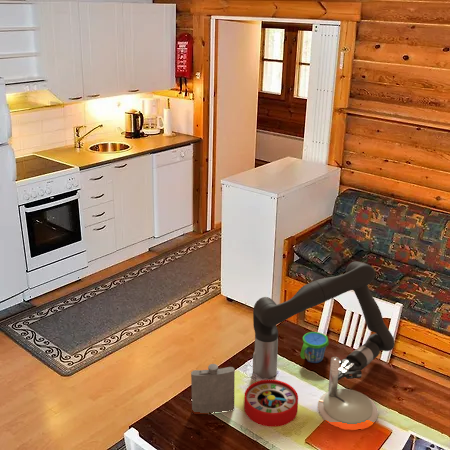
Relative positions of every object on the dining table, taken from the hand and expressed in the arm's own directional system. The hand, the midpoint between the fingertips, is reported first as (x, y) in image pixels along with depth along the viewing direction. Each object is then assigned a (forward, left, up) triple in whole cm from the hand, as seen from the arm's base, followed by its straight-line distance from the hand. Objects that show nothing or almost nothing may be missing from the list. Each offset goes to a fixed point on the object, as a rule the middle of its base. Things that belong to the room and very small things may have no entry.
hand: (334, 378), depth 217 cm
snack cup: (-13, +22, -9) cm, 27 cm away
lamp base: (+7, -5, -9) cm, 12 cm away
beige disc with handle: (+7, -5, -8) cm, 11 cm away
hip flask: (-39, -25, -9) cm, 48 cm away
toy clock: (-20, -15, -9) cm, 27 cm away
